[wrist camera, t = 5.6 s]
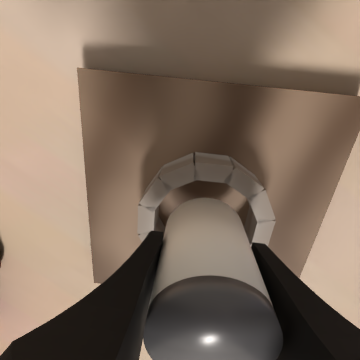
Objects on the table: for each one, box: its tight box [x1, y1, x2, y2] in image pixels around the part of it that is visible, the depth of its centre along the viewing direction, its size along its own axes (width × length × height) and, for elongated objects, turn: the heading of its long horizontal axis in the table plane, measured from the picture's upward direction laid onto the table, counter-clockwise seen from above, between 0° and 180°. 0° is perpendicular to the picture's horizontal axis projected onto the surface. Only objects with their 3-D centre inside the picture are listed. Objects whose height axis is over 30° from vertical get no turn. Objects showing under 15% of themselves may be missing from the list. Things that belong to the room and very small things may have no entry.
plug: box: [143, 198, 283, 360], centre depth 10 cm, size 4×4×6 cm
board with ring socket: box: [77, 68, 360, 284], centre depth 15 cm, size 16×16×3 cm
